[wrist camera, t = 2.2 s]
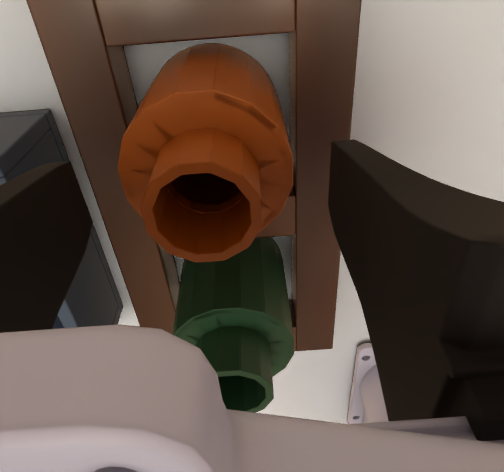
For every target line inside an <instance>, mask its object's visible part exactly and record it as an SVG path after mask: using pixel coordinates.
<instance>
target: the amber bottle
mask: <svg viewBox="0 0 504 472" xmlns="http://www.w3.org/2000/svg"><path fill="white" fill-rule="evenodd" d="M118 173H119V176H120V179H121V183H122V186H123V189H124V193H125V196H126V198H127V200H128V201H129V203H130V204H131V205H132V206H133V208H134V209H135V210H136V211H137V213H138V214H139V215H140V216H141V218H142V219H143V220H144V224H145V228H146V231H147V233H148V235H149V236H150V237H151V238H152V239H153V240H154V241H156V242H157V243H158V244H159V245H160V246H161V247H162V248H163V249H164V250H165V251H166V252H167V253H169V254H172V255H175V256H178V257H181V258H184V259H187V260H189V261H192V262H211V261H224V260H227V259H228V258H230V257H232V256H234V255H236V254H238V253H239V252H241V251H243V250H245V249H247V248H248V247H249V246H250V245H251V243H252V242H253V240H254V238H255V237H256V235H257V233H259V232H261V231H262V230H263V229H264V228H265V227H266V226H267V225H268V224H269V223H270V222H271V221H273V220H274V219H275V218H276V217H277V216H278V215H279V214H280V212H281V211H282V209H283V207H284V205H285V203H286V200H287V198H288V196H289V194H290V191H291V189H292V187H293V155H292V151H291V147H290V143H289V139H288V135H287V132H286V128H285V124H284V120H283V116H282V112H281V108H280V104H279V100H278V96H277V94H276V92H275V89H274V87H273V84H272V82H271V80H270V78H269V76H268V74H267V73H266V72H265V70H264V69H263V68H262V66H261V65H260V64H259V63H258V62H257V61H256V60H254V59H253V58H252V57H251V56H249V55H248V54H246V53H245V52H243V51H241V50H239V49H237V48H234V47H231V46H228V45H223V44H216V43H207V44H200V45H195V46H192V47H189V48H187V49H185V50H182V51H180V52H179V53H177V54H176V55H174V56H173V57H172V58H171V59H170V60H168V61H167V62H166V64H165V65H164V66H163V68H162V69H161V70H160V72H159V74H158V75H157V76H156V78H155V79H154V81H153V82H152V84H151V86H150V88H149V90H148V91H147V93H146V95H145V97H144V99H143V101H142V102H141V104H140V106H139V108H138V110H137V111H136V113H135V115H134V117H133V119H132V121H131V122H130V124H129V126H128V128H127V130H126V131H125V133H124V135H123V138H122V142H121V148H120V155H119V161H118Z"/></svg>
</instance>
